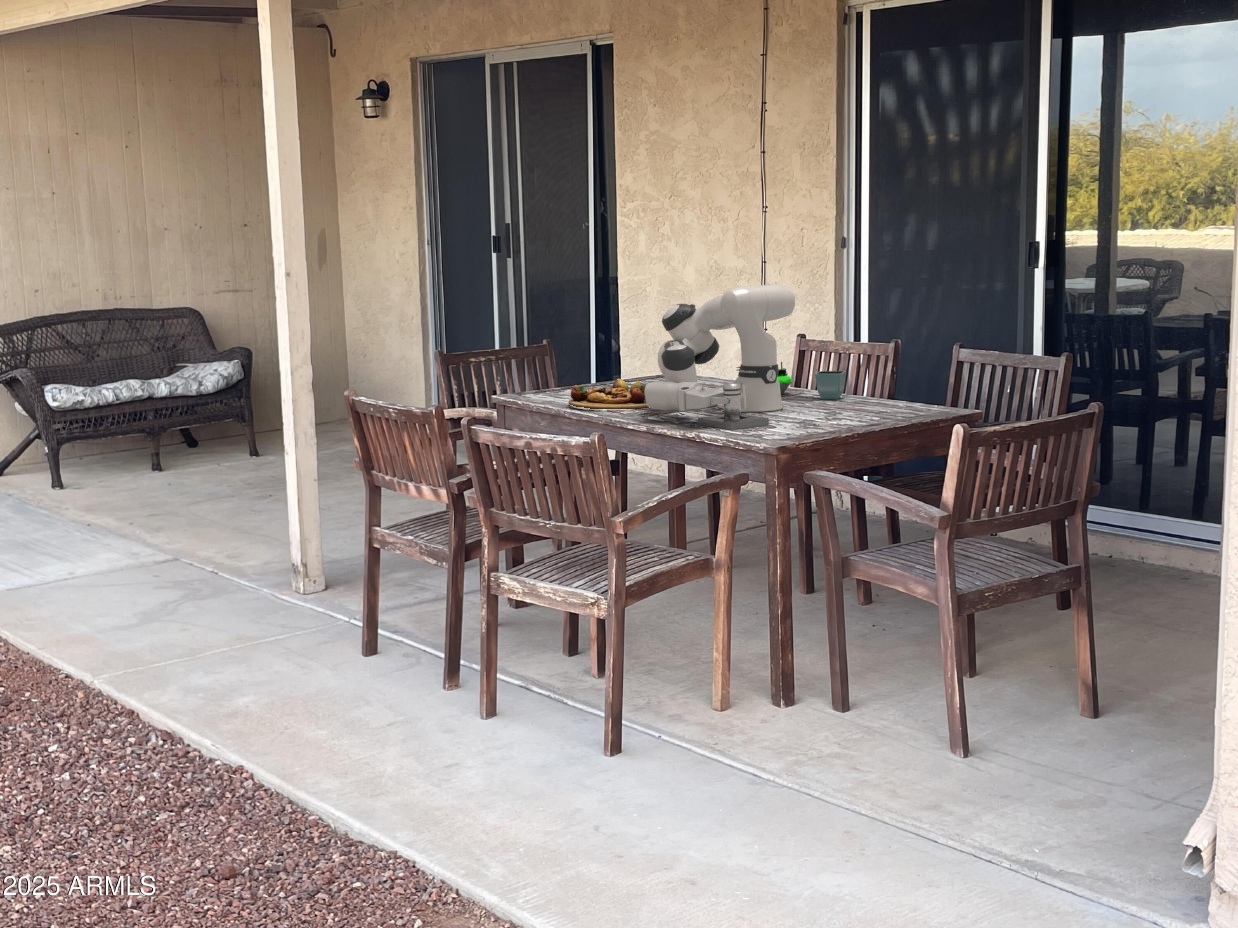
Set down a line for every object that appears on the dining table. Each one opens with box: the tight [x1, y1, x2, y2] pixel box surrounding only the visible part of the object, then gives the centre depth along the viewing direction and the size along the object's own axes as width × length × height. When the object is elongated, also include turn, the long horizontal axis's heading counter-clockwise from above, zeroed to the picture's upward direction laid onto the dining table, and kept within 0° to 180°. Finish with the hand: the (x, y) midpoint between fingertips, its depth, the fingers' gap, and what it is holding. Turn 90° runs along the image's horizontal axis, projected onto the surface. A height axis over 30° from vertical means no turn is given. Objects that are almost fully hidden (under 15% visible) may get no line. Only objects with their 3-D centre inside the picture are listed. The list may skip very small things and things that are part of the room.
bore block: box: [696, 413, 770, 431], centre depth 406 cm, size 16×14×2 cm
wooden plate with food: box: [568, 378, 650, 409], centre depth 460 cm, size 32×32×8 cm
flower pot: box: [814, 370, 847, 401], centre depth 456 cm, size 9×9×9 cm
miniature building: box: [777, 361, 793, 395], centre depth 473 cm, size 12×12×11 cm
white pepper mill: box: [722, 382, 742, 420], centre depth 405 cm, size 5×5×12 cm
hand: (734, 398), depth 405 cm, fingers open, 8 cm apart
